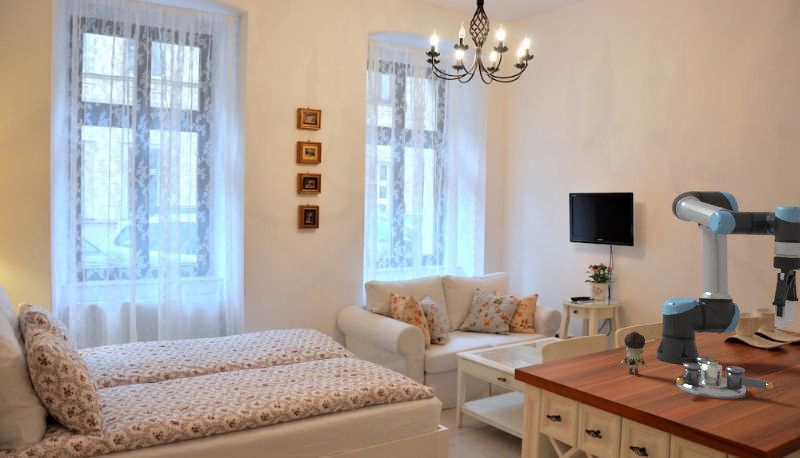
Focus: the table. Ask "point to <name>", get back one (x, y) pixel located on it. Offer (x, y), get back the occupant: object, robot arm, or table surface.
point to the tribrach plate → (714, 390)
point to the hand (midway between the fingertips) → (784, 324)
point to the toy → (634, 350)
